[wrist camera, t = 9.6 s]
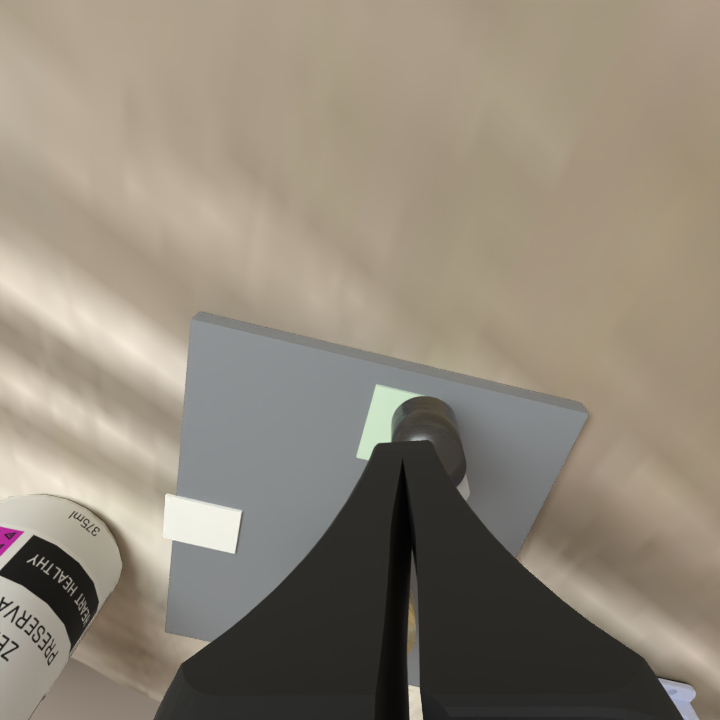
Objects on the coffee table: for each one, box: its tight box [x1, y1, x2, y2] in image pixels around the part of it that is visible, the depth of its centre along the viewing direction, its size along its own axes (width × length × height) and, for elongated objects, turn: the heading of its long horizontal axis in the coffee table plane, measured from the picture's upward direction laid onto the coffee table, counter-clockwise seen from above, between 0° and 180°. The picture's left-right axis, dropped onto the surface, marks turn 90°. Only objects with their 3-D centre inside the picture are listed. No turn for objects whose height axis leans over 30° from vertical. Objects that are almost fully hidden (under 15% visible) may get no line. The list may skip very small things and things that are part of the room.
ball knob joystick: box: [391, 396, 466, 656], centre depth 20 cm, size 15×6×3 cm, turn 164°
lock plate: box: [162, 312, 589, 687], centre depth 24 cm, size 18×21×5 cm
